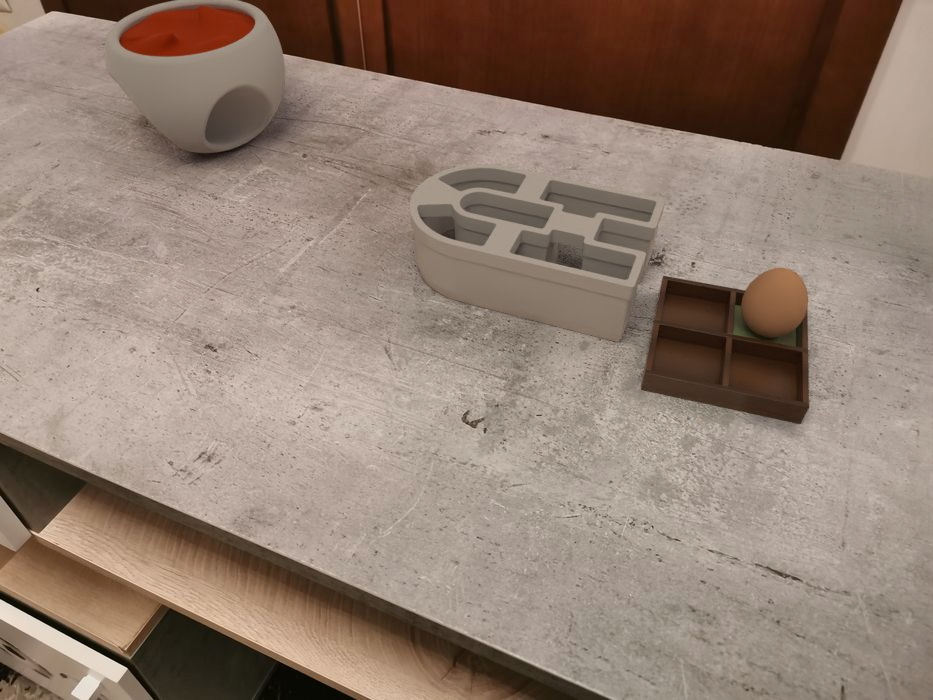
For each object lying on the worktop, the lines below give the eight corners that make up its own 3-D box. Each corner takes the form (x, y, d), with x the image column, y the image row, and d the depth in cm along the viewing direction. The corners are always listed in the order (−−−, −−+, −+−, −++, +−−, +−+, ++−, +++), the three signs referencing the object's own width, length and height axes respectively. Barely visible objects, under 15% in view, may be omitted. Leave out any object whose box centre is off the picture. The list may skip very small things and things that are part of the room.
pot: (315, 102, 119) (295, -12, 106) (270, 185, 103) (240, 61, 90) (175, 96, 121) (139, -17, 108) (109, 176, 105) (58, 54, 92)
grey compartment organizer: (622, 347, 80) (634, 287, 73) (391, 287, 87) (385, 228, 81) (653, 257, 90) (666, 198, 84) (445, 210, 98) (443, 153, 91)
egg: (726, 339, 79) (746, 281, 73) (741, 303, 83) (761, 246, 77) (787, 359, 77) (813, 301, 71) (799, 321, 81) (825, 264, 75)
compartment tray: (800, 424, 72) (809, 407, 70) (640, 389, 75) (644, 373, 74) (800, 318, 82) (807, 301, 81) (659, 292, 86) (663, 275, 84)
